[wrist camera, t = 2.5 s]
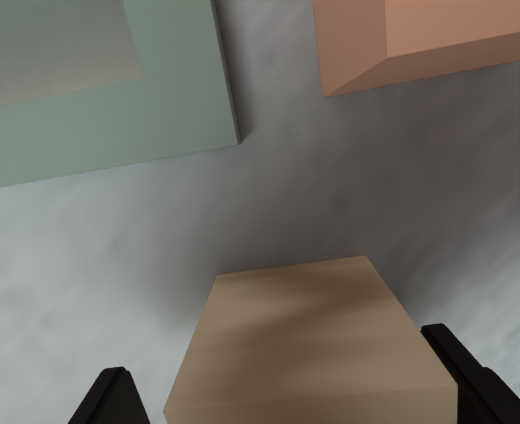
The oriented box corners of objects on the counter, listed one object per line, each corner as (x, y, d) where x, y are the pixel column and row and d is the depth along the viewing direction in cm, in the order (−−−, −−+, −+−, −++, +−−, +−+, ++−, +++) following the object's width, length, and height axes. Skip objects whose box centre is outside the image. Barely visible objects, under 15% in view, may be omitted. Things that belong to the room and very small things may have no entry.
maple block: (365, 254, 11) (457, 385, 6) (374, 375, 13) (453, 573, 7) (217, 273, 12) (163, 410, 6) (244, 387, 14) (221, 578, 8)
